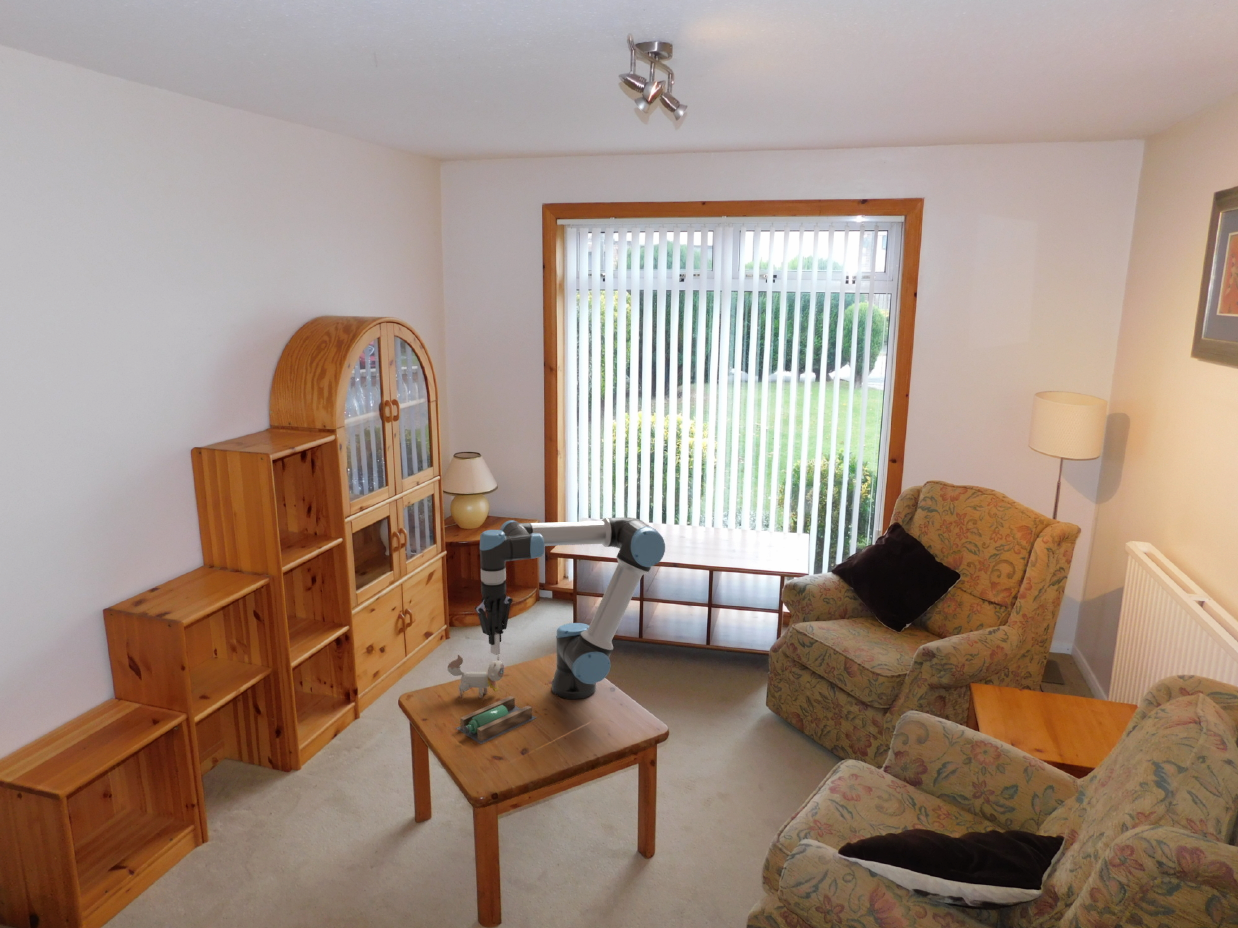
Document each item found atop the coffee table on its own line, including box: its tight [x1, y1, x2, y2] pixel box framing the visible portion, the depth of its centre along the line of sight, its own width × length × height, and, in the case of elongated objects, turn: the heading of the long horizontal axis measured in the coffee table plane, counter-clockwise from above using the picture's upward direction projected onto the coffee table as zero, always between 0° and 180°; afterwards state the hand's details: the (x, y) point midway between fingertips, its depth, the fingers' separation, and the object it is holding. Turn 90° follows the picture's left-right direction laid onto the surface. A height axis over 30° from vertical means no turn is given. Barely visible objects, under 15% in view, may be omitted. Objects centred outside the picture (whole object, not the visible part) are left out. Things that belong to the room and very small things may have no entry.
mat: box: [455, 705, 537, 745], centre depth 262 cm, size 22×13×1 cm, turn 136°
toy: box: [447, 654, 505, 699], centre depth 277 cm, size 9×19×15 cm, turn 89°
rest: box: [459, 695, 533, 741], centre depth 261 cm, size 20×11×4 cm, turn 136°
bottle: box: [463, 705, 509, 735], centre depth 257 cm, size 5×5×15 cm
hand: (495, 652), depth 257 cm, fingers closed
